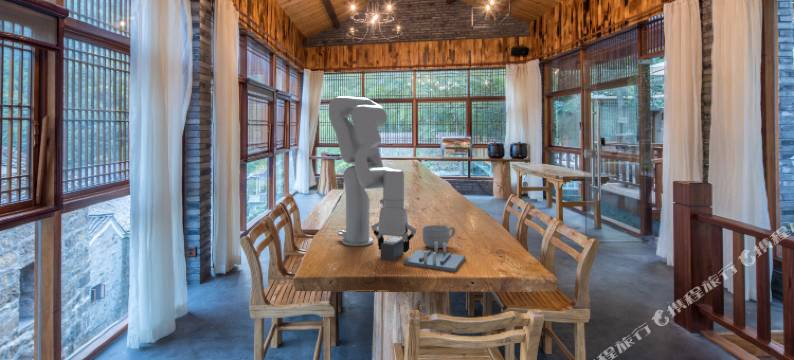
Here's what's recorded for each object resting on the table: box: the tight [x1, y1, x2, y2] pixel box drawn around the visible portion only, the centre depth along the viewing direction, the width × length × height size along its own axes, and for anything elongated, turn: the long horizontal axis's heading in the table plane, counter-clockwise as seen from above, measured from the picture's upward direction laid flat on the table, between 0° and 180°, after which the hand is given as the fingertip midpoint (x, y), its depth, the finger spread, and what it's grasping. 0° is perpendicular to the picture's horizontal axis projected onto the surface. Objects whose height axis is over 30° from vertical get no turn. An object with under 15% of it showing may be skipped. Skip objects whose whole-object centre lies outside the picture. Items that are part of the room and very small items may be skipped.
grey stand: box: [403, 242, 466, 273], centre depth 145 cm, size 18×15×5 cm
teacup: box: [422, 224, 456, 249], centre depth 164 cm, size 14×11×8 cm
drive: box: [380, 236, 405, 262], centre depth 150 cm, size 5×10×6 cm, turn 158°
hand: (393, 250), depth 150 cm, fingers open, 9 cm apart
